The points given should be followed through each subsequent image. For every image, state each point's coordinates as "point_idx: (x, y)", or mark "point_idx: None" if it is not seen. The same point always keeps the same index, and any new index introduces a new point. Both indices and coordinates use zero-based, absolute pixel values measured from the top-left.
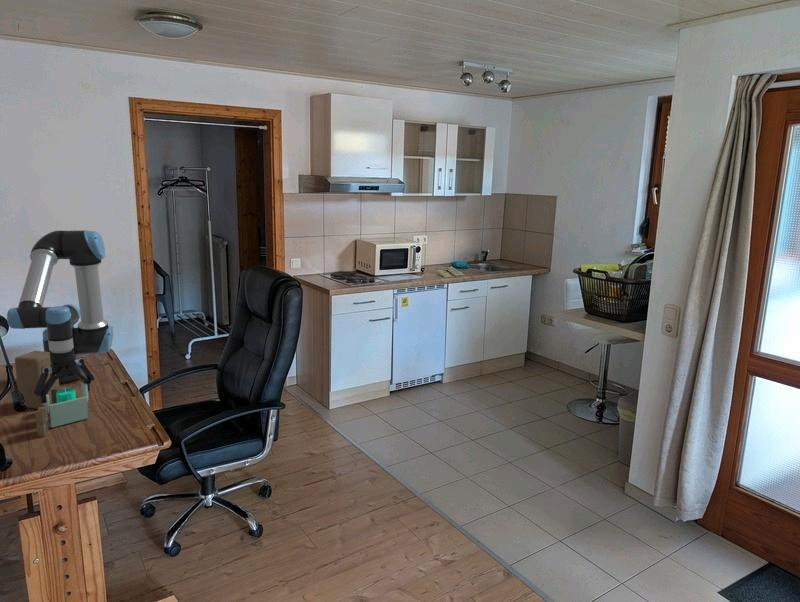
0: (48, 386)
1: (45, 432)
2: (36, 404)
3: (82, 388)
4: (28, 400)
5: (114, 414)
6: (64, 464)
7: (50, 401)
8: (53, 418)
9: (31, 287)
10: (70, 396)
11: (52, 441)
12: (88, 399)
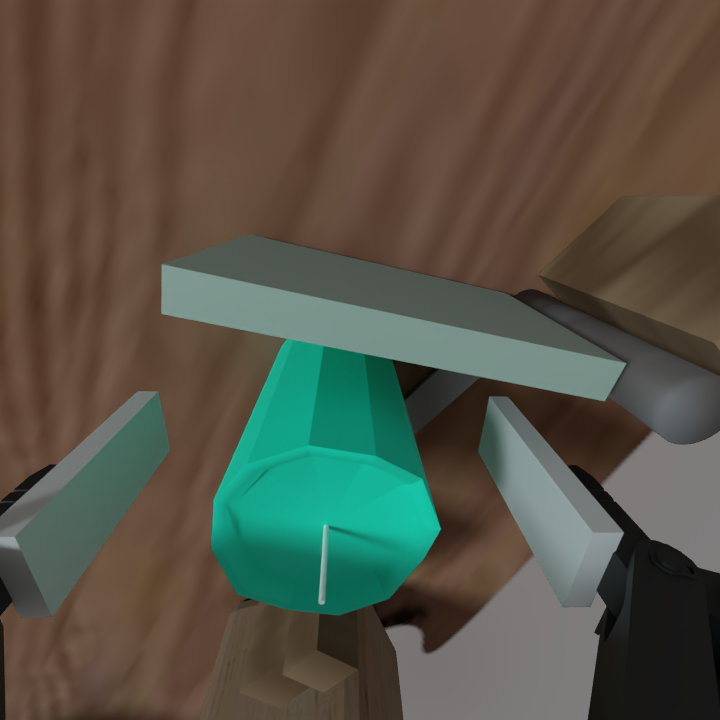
0: (707, 714)
1: (611, 221)
2: (368, 613)
3: (97, 532)
4: (384, 661)
5: (43, 141)
6: None
7: None
8: (520, 307)
9: None
10: (325, 417)
11: (675, 40)
12: (132, 398)
